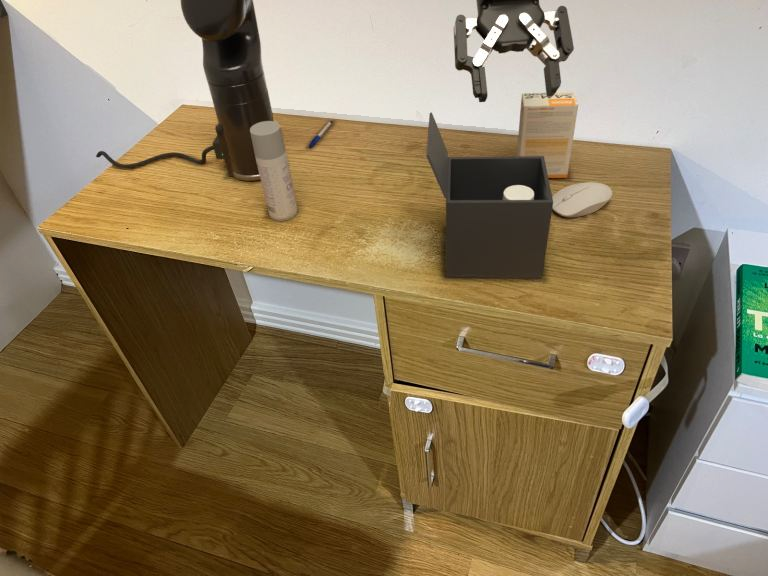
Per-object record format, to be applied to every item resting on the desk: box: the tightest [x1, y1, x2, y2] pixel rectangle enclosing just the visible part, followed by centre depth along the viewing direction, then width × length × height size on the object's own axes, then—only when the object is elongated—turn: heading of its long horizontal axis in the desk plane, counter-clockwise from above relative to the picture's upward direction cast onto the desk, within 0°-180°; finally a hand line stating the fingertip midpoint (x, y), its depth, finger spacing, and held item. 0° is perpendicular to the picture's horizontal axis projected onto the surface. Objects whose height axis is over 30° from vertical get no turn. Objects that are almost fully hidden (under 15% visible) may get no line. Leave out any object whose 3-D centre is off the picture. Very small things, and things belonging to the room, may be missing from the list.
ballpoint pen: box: [308, 120, 333, 149], centre depth 115 cm, size 10×1×1 cm, turn 162°
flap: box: [425, 112, 449, 199], centre depth 75 cm, size 6×11×1 cm
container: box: [250, 120, 299, 222], centre depth 91 cm, size 5×5×15 cm
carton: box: [445, 155, 553, 280], centre depth 81 cm, size 13×11×12 cm
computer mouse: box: [552, 181, 613, 219], centre depth 91 cm, size 6×10×3 cm, turn 112°
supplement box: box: [516, 91, 579, 179], centre depth 96 cm, size 8×5×13 cm, turn 84°
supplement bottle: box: [503, 185, 534, 200], centre depth 81 cm, size 5×5×10 cm
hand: (517, 97), depth 73 cm, fingers open, 8 cm apart
